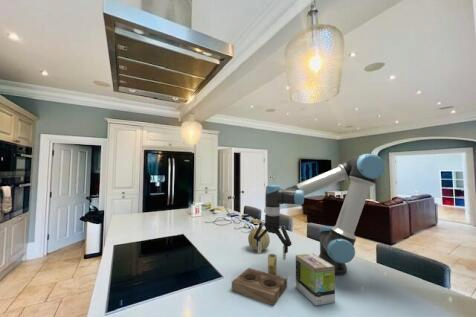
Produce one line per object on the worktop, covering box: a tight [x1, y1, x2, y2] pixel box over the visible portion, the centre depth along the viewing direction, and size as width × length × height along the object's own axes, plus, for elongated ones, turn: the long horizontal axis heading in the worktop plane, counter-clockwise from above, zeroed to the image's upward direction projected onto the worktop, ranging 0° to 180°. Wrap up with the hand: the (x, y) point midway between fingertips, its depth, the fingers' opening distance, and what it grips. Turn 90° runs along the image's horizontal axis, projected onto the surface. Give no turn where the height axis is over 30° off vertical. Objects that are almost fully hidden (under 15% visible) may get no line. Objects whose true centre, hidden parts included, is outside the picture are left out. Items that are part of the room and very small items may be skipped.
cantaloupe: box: [247, 226, 271, 252], centre depth 146 cm, size 15×15×15 cm
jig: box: [231, 267, 288, 306], centre depth 98 cm, size 16×20×4 cm
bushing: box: [267, 253, 278, 276], centre depth 111 cm, size 4×4×10 cm
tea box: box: [295, 253, 336, 306], centre depth 95 cm, size 15×10×15 cm, turn 17°
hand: (271, 256), depth 111 cm, fingers open, 13 cm apart
